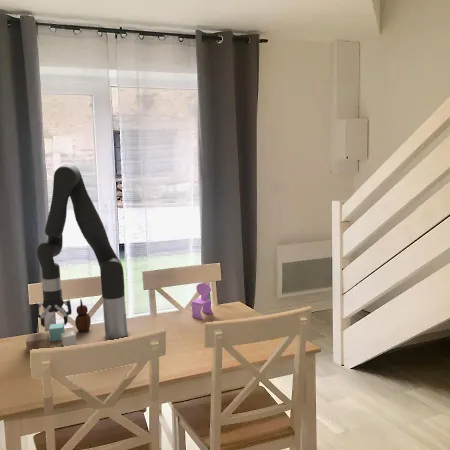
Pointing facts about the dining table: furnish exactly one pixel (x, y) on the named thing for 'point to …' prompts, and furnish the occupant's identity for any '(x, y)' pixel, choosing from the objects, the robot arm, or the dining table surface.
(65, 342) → the grey cube
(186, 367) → the dining table surface
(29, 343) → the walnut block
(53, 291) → the robot arm
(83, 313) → the wooden figurine
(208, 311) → the toy chair
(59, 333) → the teal cube
